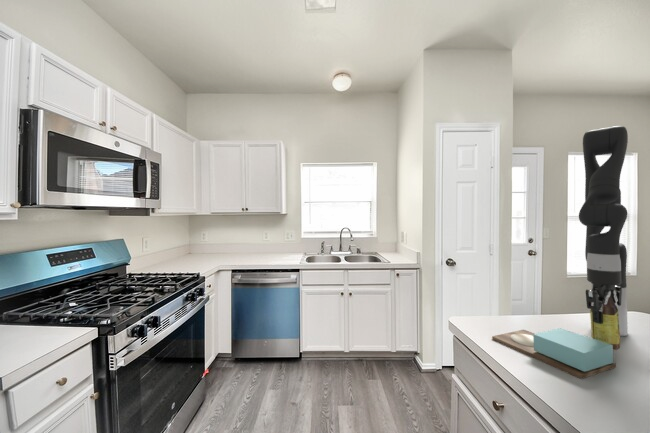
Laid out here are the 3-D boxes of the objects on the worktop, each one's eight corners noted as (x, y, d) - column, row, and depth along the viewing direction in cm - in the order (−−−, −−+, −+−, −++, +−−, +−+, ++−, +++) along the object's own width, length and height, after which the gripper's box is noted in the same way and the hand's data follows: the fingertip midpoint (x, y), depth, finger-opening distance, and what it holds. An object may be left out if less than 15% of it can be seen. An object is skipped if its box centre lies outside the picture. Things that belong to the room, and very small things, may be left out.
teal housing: (560, 343, 90) (560, 328, 90) (613, 362, 78) (612, 345, 78) (533, 350, 86) (533, 334, 86) (584, 371, 74) (584, 353, 74)
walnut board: (523, 332, 103) (523, 328, 103) (615, 367, 79) (615, 362, 79) (492, 339, 98) (492, 335, 98) (580, 378, 73) (580, 373, 73)
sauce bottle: (626, 351, 82) (624, 285, 82) (601, 350, 83) (599, 284, 83) (608, 341, 88) (606, 279, 88) (585, 340, 89) (584, 279, 89)
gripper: (605, 272, 80) (606, 329, 80) (633, 267, 84) (634, 322, 84) (574, 267, 87) (575, 320, 87) (601, 264, 91) (603, 314, 92)
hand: (604, 321), depth 86 cm, fingers closed on sauce bottle, 6 cm apart
